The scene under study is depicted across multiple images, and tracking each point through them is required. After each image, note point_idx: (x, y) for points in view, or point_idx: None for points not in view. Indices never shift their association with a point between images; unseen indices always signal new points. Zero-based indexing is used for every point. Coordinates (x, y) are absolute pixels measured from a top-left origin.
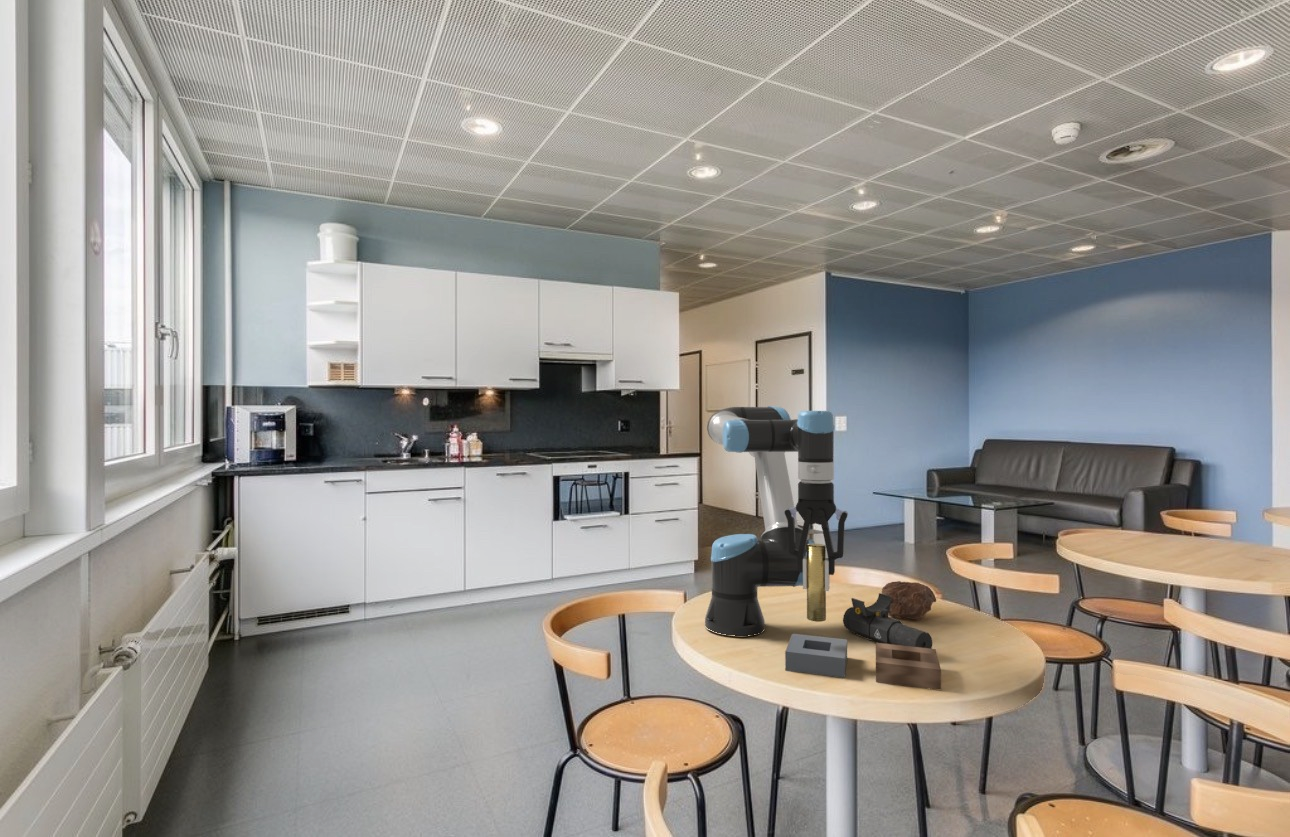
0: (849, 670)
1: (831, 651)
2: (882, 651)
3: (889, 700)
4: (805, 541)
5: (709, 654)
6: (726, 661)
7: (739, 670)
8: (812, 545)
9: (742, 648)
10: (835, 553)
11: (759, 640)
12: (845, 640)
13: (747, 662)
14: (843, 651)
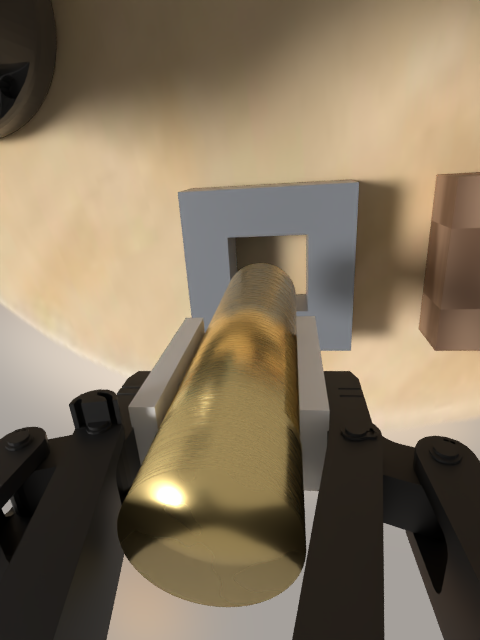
0: (356, 277)
1: (313, 311)
2: (468, 259)
3: (437, 412)
4: (104, 620)
5: (14, 294)
6: (68, 322)
7: (114, 361)
8: (177, 554)
9: (63, 220)
10: (395, 525)
11: (77, 129)
12: (353, 194)
13: (112, 312)
14: (347, 300)
